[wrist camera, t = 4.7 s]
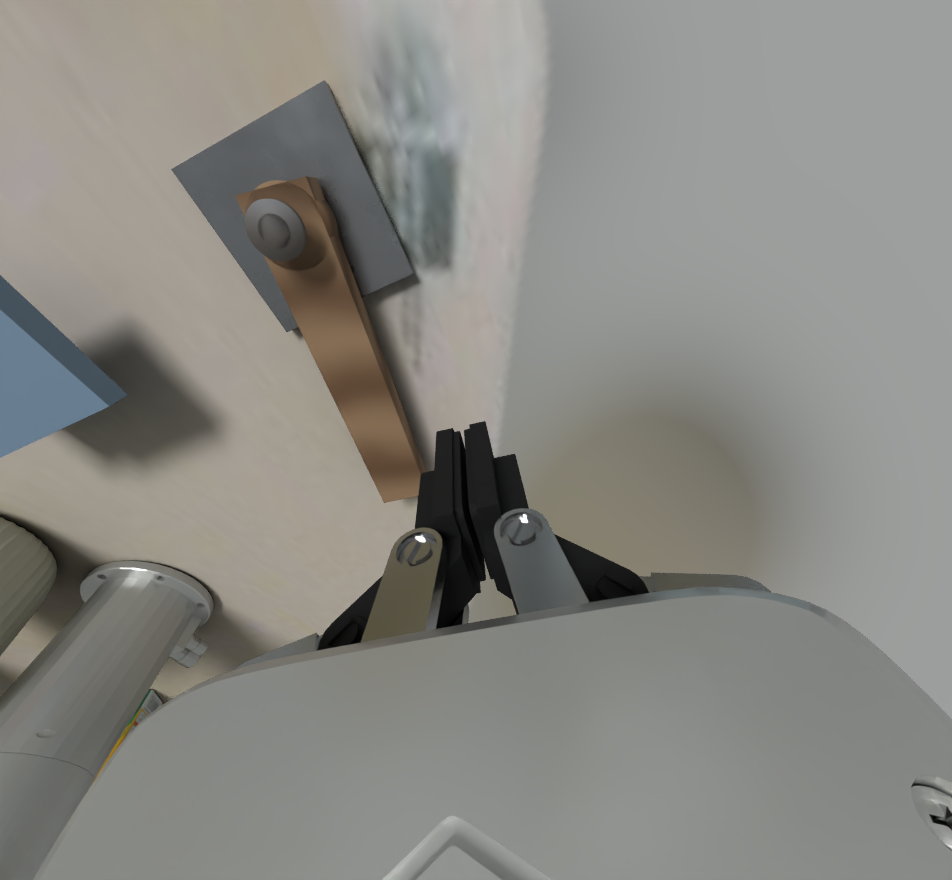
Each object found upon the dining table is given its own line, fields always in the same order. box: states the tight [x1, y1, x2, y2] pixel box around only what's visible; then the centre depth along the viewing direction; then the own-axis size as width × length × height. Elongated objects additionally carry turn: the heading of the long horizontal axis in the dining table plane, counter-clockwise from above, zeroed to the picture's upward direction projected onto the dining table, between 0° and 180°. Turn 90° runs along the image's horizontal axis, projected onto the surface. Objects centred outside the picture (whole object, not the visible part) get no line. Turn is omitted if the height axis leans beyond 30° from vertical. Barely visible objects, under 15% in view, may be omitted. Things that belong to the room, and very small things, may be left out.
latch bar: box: [235, 176, 426, 503], centre depth 26 cm, size 23×4×4 cm, turn 12°
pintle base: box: [171, 81, 415, 332], centre depth 23 cm, size 10×10×1 cm
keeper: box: [0, 275, 128, 458], centre depth 24 cm, size 8×12×6 cm, turn 112°
